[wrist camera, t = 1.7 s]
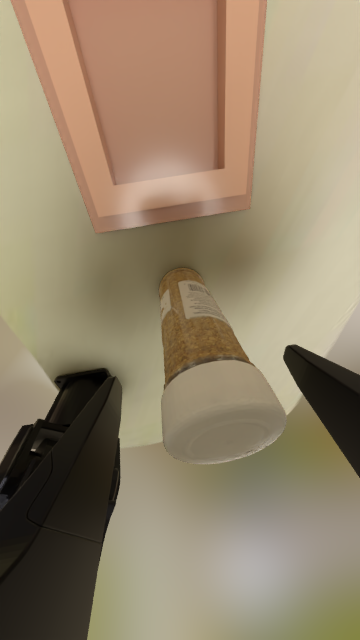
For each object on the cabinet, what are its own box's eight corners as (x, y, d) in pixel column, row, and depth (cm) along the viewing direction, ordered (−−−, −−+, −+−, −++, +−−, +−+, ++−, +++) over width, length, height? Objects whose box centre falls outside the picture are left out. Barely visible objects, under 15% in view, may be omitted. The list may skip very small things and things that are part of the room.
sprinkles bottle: (149, 288, 17) (133, 454, 6) (184, 255, 15) (254, 387, 4) (180, 316, 19) (212, 476, 8) (213, 289, 18) (310, 435, 6)
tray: (97, 232, 14) (89, 236, 12) (-19, -95, 7) (-74, -187, 5) (246, 208, 14) (258, 209, 12) (271, -131, 7) (305, -231, 6)
